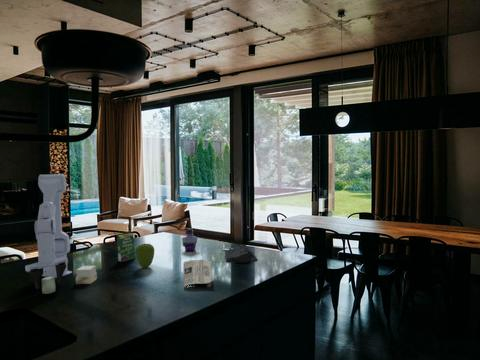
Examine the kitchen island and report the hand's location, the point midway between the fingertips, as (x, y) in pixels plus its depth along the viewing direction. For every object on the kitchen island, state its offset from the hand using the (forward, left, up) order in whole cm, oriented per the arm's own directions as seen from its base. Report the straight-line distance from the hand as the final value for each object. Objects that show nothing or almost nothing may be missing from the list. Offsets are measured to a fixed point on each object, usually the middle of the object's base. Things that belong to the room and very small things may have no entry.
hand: (48, 285), depth 138 cm
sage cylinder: (0, 0, -2) cm, 2 cm away
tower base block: (+5, +14, -3) cm, 15 cm away
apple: (+17, +37, -2) cm, 41 cm away
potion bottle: (+21, +71, -2) cm, 74 cm away
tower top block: (+5, +14, 0) cm, 15 cm away
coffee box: (0, +45, -3) cm, 45 cm away
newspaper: (+45, +35, -3) cm, 57 cm away
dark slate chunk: (+51, +67, -3) cm, 85 cm away
